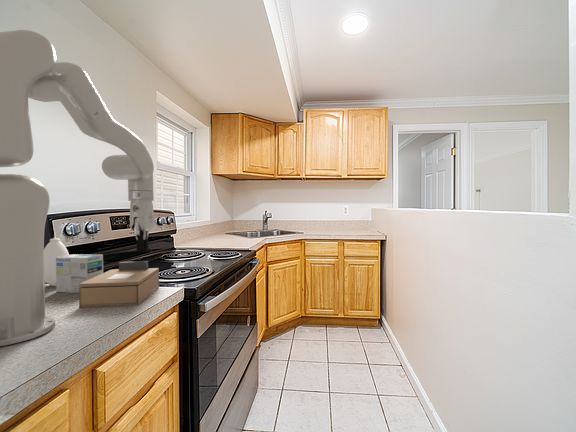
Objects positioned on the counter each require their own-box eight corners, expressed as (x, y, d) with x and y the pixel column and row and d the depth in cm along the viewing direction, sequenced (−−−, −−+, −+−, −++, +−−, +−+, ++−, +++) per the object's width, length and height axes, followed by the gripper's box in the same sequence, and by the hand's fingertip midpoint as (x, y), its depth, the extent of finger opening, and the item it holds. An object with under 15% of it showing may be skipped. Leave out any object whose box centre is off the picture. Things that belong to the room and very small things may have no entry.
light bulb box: (104, 287, 92) (104, 253, 92) (88, 293, 86) (87, 257, 86) (73, 286, 94) (73, 253, 93) (54, 292, 87) (54, 256, 87)
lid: (138, 284, 75) (137, 272, 75) (78, 287, 73) (78, 274, 73) (158, 270, 93) (158, 260, 93) (111, 271, 91) (111, 261, 91)
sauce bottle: (76, 282, 98) (75, 229, 98) (55, 289, 91) (54, 231, 90) (56, 282, 99) (55, 229, 99) (33, 288, 92) (32, 231, 91)
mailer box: (138, 305, 75) (138, 286, 75) (79, 307, 73) (79, 288, 73) (158, 286, 93) (158, 271, 93) (111, 288, 91) (111, 272, 91)
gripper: (145, 195, 90) (146, 254, 91) (159, 197, 105) (160, 247, 106) (119, 196, 89) (121, 255, 90) (137, 197, 104) (138, 248, 105)
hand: (142, 250), depth 98 cm, fingers closed
